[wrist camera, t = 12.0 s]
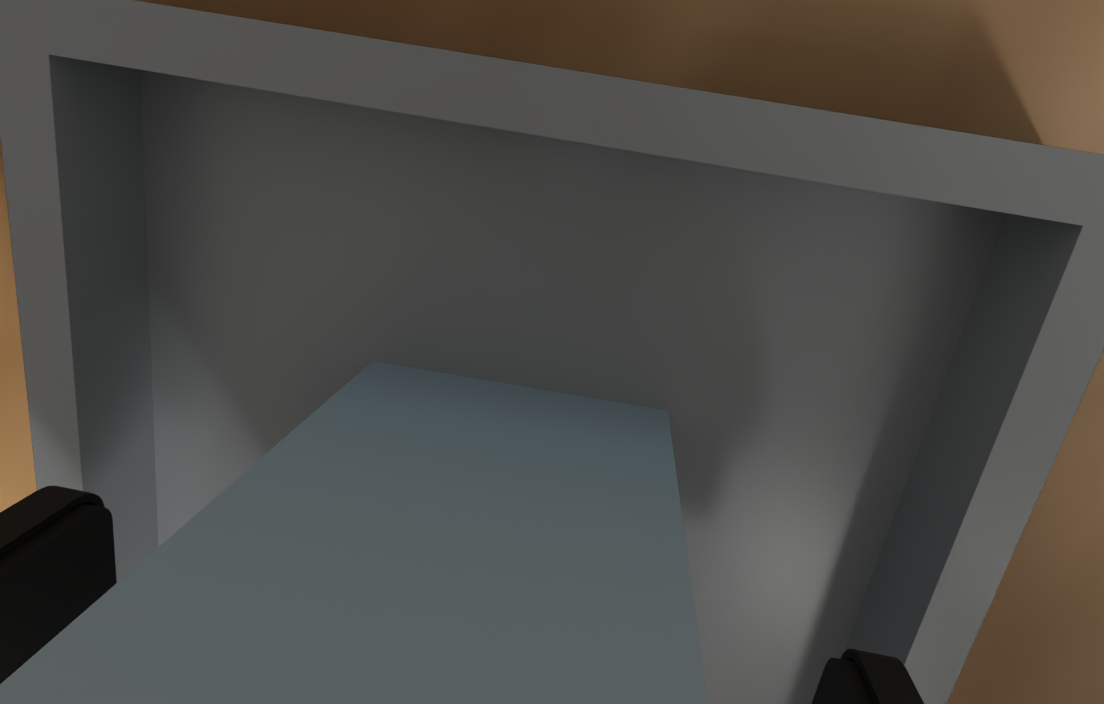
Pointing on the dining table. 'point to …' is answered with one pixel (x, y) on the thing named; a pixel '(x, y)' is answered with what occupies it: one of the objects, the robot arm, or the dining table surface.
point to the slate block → (411, 564)
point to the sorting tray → (557, 300)
